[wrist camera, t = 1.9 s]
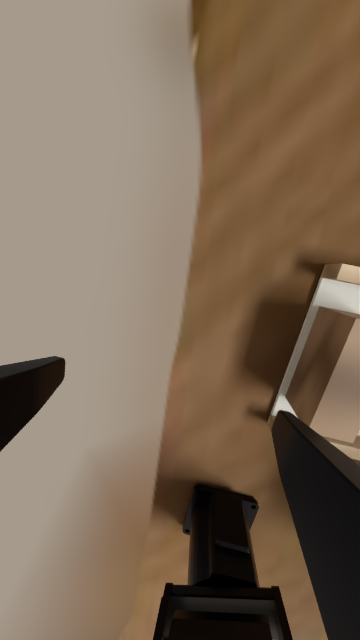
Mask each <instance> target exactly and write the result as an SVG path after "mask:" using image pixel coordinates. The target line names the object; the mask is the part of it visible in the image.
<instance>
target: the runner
mask: <svg viewBox="0 0 360 640" xmlns="http://www.w3.org/2000/svg"><path fill="white" fill-rule="evenodd" d="M319 306H322V307H327V308H332V309H337V310H342V311H346V312H351V313H356V314H360V285H355V284H350V283H345V282H340V281H335V280H331V279H326V278H320V280H319V283H318V285H317V288H316V291H315V293H314V296H313V299H312V302H311V304H310V307H309V310H308V313H307V315H306V318H305V321H304V323H303V326H302V329H301V332H300V334H299V337H298V340H297V343H296V345H295V348H294V351H293V354H292V356H291V359H290V362H289V364H288V367H287V370H286V373H285V375H284V378H283V381H282V384H281V386H280V389H279V392H278V395H277V397H276V400H275V403H274V405H273V408H272V411H271V414H272V415H273V416H276V415H277V412H278V411H279V410H283V411H288V412H291V413H292V414H293V415H295V416H296V417H297V415H296V414H295V412H294V411H293V409H292V407H291V406H290V404H289V403H288V401H287V399H286V398H285V395H286V393H287V390H288V388H289V385H290V382H291V380H292V377H293V374H294V372H295V369H296V366H297V364H298V361H299V358H300V356H301V353H302V351H303V348H304V345H305V343H306V340H307V337H308V335H309V332H310V329H311V327H312V324H313V321H314V319H315V316H316V313H317V311H318V308H319ZM297 418H298V417H297ZM357 436H360V430H359V432H358V434H357Z"/></svg>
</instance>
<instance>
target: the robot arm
mask: <svg viewBox="0 0 360 640" xmlns="http://www.w3.org/2000/svg"><path fill="white" fill-rule="evenodd" d="M64 375H65V359H64V358H61V357H57V356H53V357H47V358H41V359H36V360H30V361H25V362H19V363H13V364H8V365H2V366H0V451H1V450H2V449H3V448H4V447H5V446H6V445H7V444H8V443H9V442H10V441H11V440H12V439H13V438H14V436H16V435H17V434H18V433H19V431H20V430H21V429H22V428H23V427H24V426H25V425H26V424H27V423H28V422H29V421H30V420H31V419H32V418H33V417H34V416H35V415H36V414H37V412H38V411H39V410H40V409H41V408H42V407H43V405H44V404H45V403H46V402H47V400H48V399H49V398H50V396H51V395H52V394H53V393H54V391H55V390H56V389H57V387H58V386H59V385H60V384H61V383H62V381H63V379H64ZM272 438H273V443H274V448H275V453H276V459H277V464H278V469H279V473H280V477H281V481H282V484H283V487H284V491H285V494H286V498H287V501H288V504H289V508H290V511H291V515H292V518H293V521H294V525H295V528H296V532H297V535H298V538H299V542H300V545H301V549H302V552H303V556H304V559H305V562H306V566H307V569H308V573H309V576H310V579H311V583H312V586H313V590H314V593H315V596H316V600H317V603H318V607H319V610H320V613H321V617H322V620H323V624H324V627H325V630H326V634H327V637H328V640H360V465H359V464H358V463H356V462H355V461H354V460H352V459H351V458H350V457H348V456H347V455H346V454H344V453H343V452H342V451H340V450H339V449H338V448H337V447H335V446H334V445H333V444H331V443H330V442H329V441H327V440H326V439H325V438H323V437H322V436H321V435H319V434H318V433H317V432H316V431H314V430H313V429H312V428H310V427H309V426H308V425H306V424H305V423H304V422H302V421H301V420H300V419H299V418H297V417H296V416H295V415H293V414H292V413H291V412H288V411H283V410H279V411H278V412H277V415H276V417H275V420H274V423H273V425H272ZM258 509H259V506H258V502H257V501H256V500H255V499H251V498H247V497H244V496H240V495H236V494H232V493H228V492H225V491H221V490H217V489H213V488H209V487H205V486H202V485H195V486H194V488H193V491H192V495H191V498H190V502H189V505H188V509H187V513H186V516H185V520H184V523H183V533H185V534H187V535H190V547H189V567H188V585H173V583H166V585H165V590H164V595H163V597H162V598H161V603H160V608H159V613H158V618H157V622H156V627H155V632H154V637H153V640H272V639H274V640H293V639H292V635H291V631H290V627H289V624H288V620H287V616H286V612H285V608H284V605H283V601H282V597H281V593H280V589H279V586H271V588H261V587H259V582H258V576H257V570H256V564H255V559H254V553H253V547H252V542H251V536H250V528H251V526H252V523H253V521H254V518H255V516H256V514H257V511H258Z"/></svg>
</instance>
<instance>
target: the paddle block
mask: <svg viewBox="0 0 360 640" xmlns="http://www.w3.org/2000/svg"><path fill="white" fill-rule="evenodd" d="M285 398H286V399H287V401H288V403H289V404H290V406H291V407H292V409H293V411H294V412H295V414H296V415H297V417H298V418H299V419H300V420H301V421H302V422H304V423H305V424H306V425H308V426H309V427H310V428H312V429H313V430H314V431H316V432H317V433H318V434H319V435H321V436H324V437H329V438H333V439H337V440H341V441H345V442H349V443H353V442H354V440H355V438H356V436H357V434H358V432H359V430H360V314H356V313H351V312H346V311H342V310H337V309H332V308H327V307H322V306H319V308H318V311H317V313H316V316H315V319H314V321H313V324H312V327H311V329H310V332H309V335H308V337H307V340H306V343H305V345H304V348H303V351H302V353H301V356H300V358H299V361H298V364H297V366H296V369H295V372H294V374H293V377H292V380H291V382H290V385H289V388H288V390H287V393H286V395H285Z"/></svg>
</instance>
